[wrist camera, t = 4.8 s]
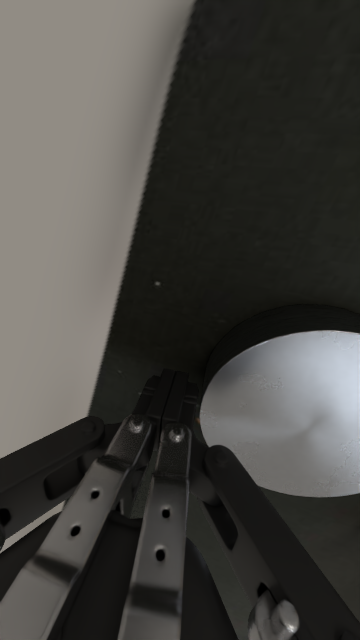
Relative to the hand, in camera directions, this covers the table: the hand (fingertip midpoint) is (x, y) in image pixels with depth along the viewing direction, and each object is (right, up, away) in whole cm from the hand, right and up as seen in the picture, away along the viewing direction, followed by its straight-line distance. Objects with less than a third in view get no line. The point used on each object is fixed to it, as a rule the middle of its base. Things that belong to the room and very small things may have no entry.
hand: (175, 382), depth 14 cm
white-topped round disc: (+7, 0, 0) cm, 7 cm away
